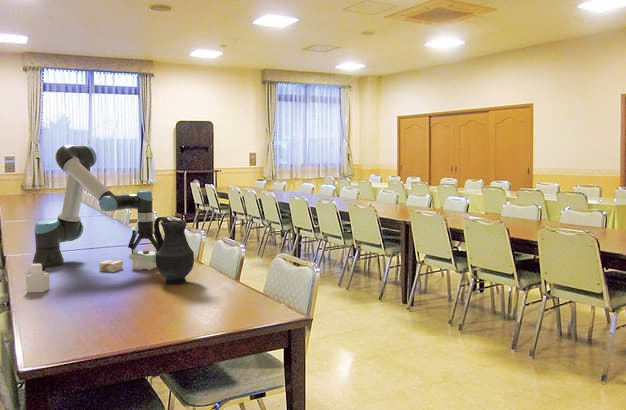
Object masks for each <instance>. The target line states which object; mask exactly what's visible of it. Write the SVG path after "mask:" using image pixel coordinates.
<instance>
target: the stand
mask: <svg viewBox="0 0 626 410" xmlns="http://www.w3.org/2000/svg"><path fill="white" fill-rule="evenodd" d="M123 264H124V262H123V260H110V259H108V260H105V261H102V262H99V272H110V273H114V272H118V271H121V270H123V269H124V267H123Z"/></svg>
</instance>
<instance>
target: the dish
mask: <svg viewBox="0 0 626 410" xmlns="http://www.w3.org/2000/svg"><path fill="white" fill-rule="evenodd" d="M131 261H132V262H131V263H132V270H142V269H148V270H147V271H151V270H153V268H154V269H156V268H155V267H157V266H156V263H155V259H154V260H151V261H146V260H131ZM150 269H151V270H150Z"/></svg>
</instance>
